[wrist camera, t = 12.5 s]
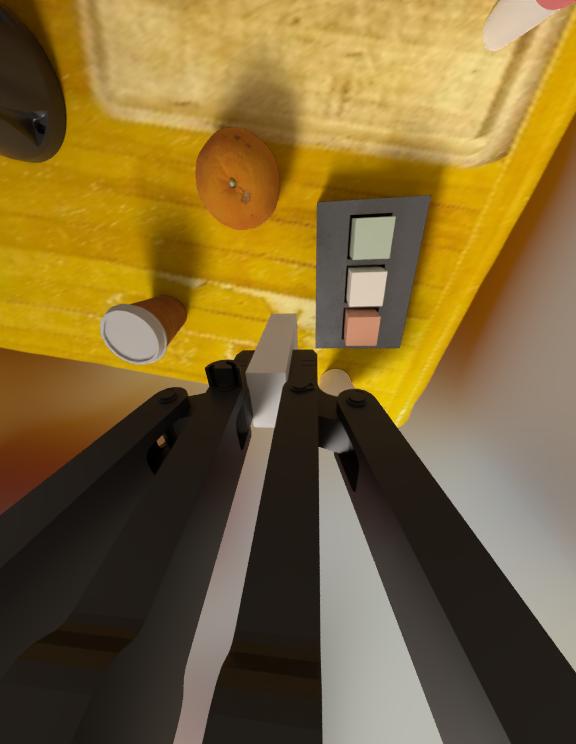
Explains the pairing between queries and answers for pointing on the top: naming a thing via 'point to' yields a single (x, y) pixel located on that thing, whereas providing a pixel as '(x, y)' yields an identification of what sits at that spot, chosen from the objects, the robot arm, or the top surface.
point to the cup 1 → (335, 382)
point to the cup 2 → (517, 19)
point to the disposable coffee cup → (142, 328)
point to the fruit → (237, 178)
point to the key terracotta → (361, 326)
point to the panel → (335, 260)
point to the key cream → (365, 285)
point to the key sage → (371, 237)
